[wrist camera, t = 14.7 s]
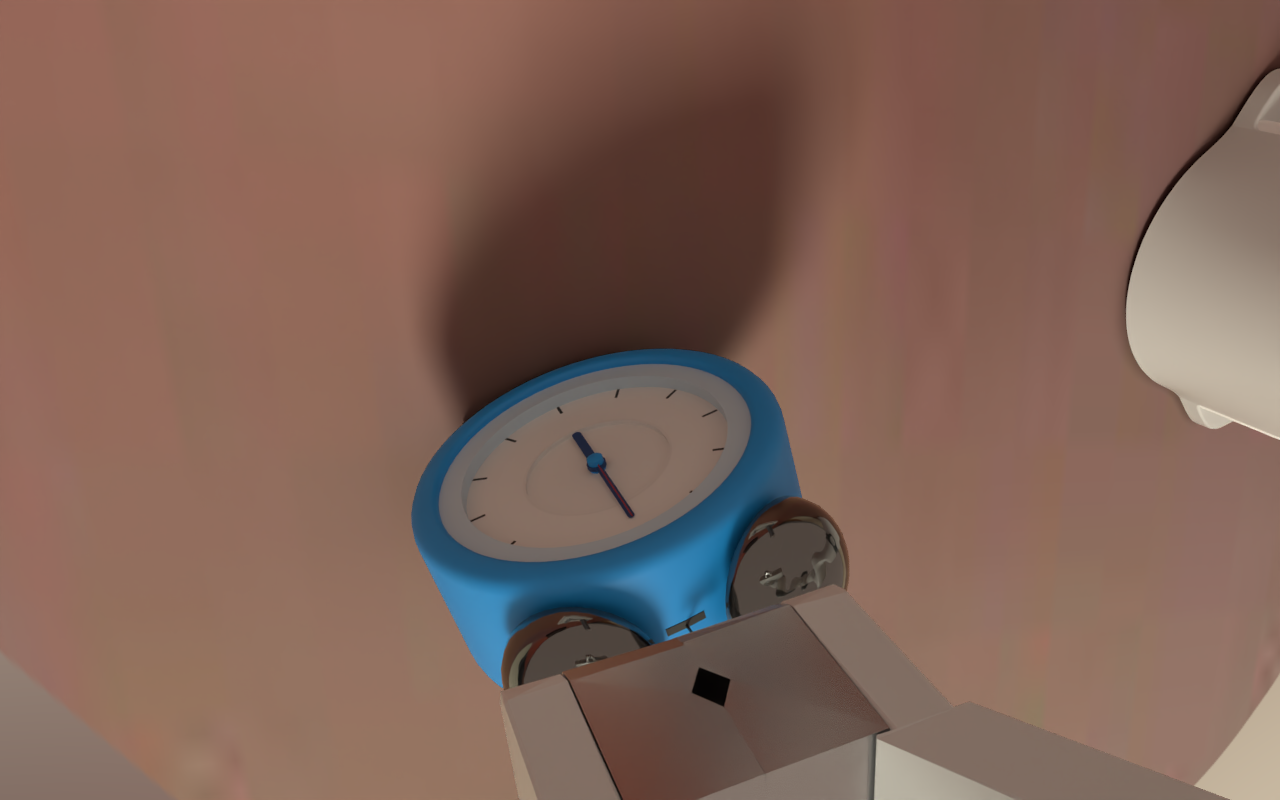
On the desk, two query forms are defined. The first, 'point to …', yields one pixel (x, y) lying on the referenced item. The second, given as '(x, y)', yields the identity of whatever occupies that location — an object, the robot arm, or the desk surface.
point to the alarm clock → (618, 512)
